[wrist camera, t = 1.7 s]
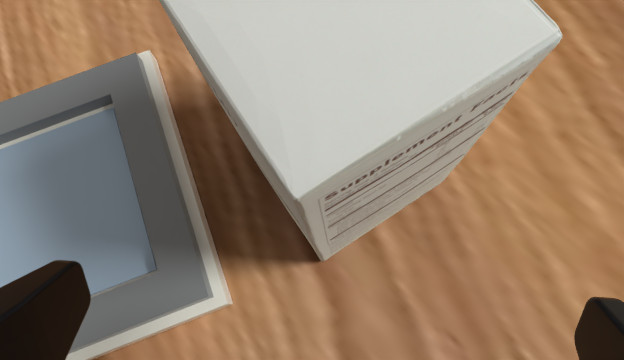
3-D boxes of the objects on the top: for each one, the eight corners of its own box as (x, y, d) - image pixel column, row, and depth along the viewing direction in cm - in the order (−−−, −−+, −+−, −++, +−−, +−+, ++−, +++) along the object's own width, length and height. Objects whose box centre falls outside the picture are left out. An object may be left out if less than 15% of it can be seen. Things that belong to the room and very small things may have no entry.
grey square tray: (233, 304, 21) (222, 303, 19) (-58, 418, 20) (-95, 428, 19) (156, 60, 25) (142, 41, 23) (-87, 150, 24) (-120, 137, 23)
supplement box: (243, 146, 23) (132, -38, 11) (363, 73, 24) (383, -174, 12) (320, 268, 21) (287, 207, 9) (448, 185, 22) (579, 25, 10)
